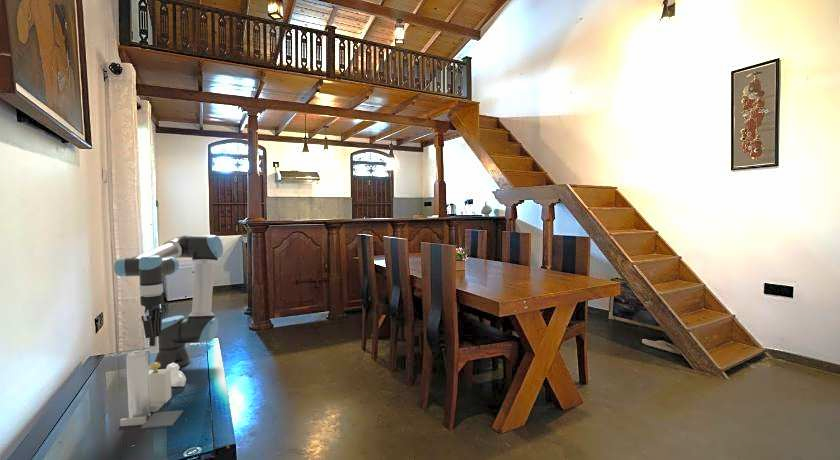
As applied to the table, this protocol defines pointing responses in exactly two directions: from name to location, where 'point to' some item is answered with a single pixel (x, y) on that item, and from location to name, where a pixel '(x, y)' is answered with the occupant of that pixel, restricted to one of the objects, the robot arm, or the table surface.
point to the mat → (162, 419)
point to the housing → (154, 395)
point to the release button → (154, 366)
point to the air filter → (138, 384)
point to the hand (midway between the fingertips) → (154, 352)
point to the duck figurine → (176, 375)
